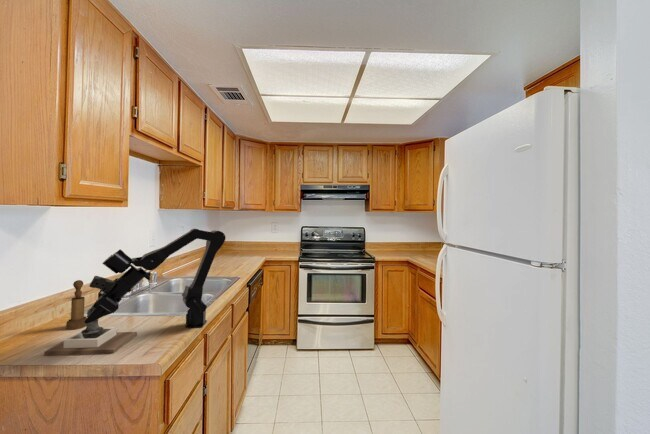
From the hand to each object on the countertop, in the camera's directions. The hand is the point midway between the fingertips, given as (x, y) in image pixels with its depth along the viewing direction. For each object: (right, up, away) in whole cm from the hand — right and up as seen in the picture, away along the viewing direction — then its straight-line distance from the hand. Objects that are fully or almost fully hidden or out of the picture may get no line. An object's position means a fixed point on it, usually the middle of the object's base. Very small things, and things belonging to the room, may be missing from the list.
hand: (86, 318), depth 96 cm
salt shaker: (+1, -8, +1) cm, 8 cm away
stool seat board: (+2, -9, +1) cm, 9 cm away
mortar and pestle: (-17, -9, +16) cm, 25 cm away
